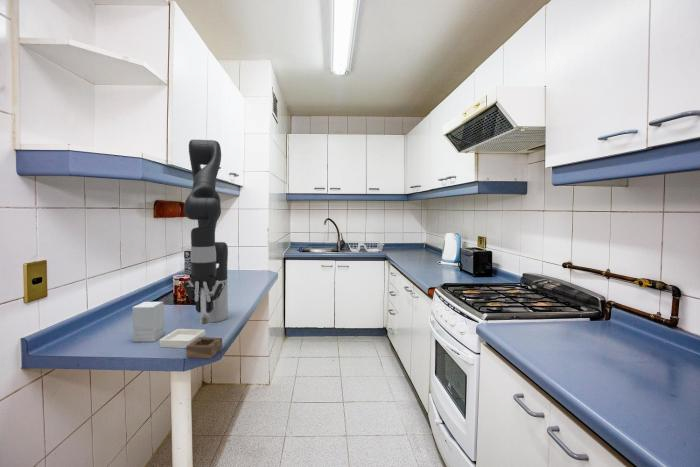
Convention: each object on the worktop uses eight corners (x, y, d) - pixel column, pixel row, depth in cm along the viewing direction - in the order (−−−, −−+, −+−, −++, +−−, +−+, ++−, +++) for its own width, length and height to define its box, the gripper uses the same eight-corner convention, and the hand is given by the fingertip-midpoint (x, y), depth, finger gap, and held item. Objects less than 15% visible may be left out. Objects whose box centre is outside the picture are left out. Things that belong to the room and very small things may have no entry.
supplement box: (165, 334, 122) (164, 301, 121) (154, 342, 115) (153, 307, 114) (145, 334, 122) (144, 301, 121) (132, 342, 114) (131, 307, 114)
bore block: (199, 347, 111) (199, 337, 111) (222, 347, 110) (222, 337, 110) (186, 357, 103) (186, 346, 103) (210, 358, 102) (210, 347, 102)
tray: (177, 335, 121) (177, 328, 121) (205, 336, 120) (205, 329, 120) (159, 347, 110) (159, 339, 110) (189, 348, 110) (189, 341, 110)
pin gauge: (203, 321, 108) (202, 285, 107) (210, 321, 107) (209, 286, 106) (198, 324, 105) (198, 287, 104) (206, 324, 105) (206, 287, 104)
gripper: (229, 258, 108) (230, 309, 109) (189, 257, 109) (190, 307, 110) (219, 262, 100) (220, 316, 102) (175, 261, 101) (177, 315, 103)
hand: (204, 311), depth 106 cm, fingers closed on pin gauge, 2 cm apart
